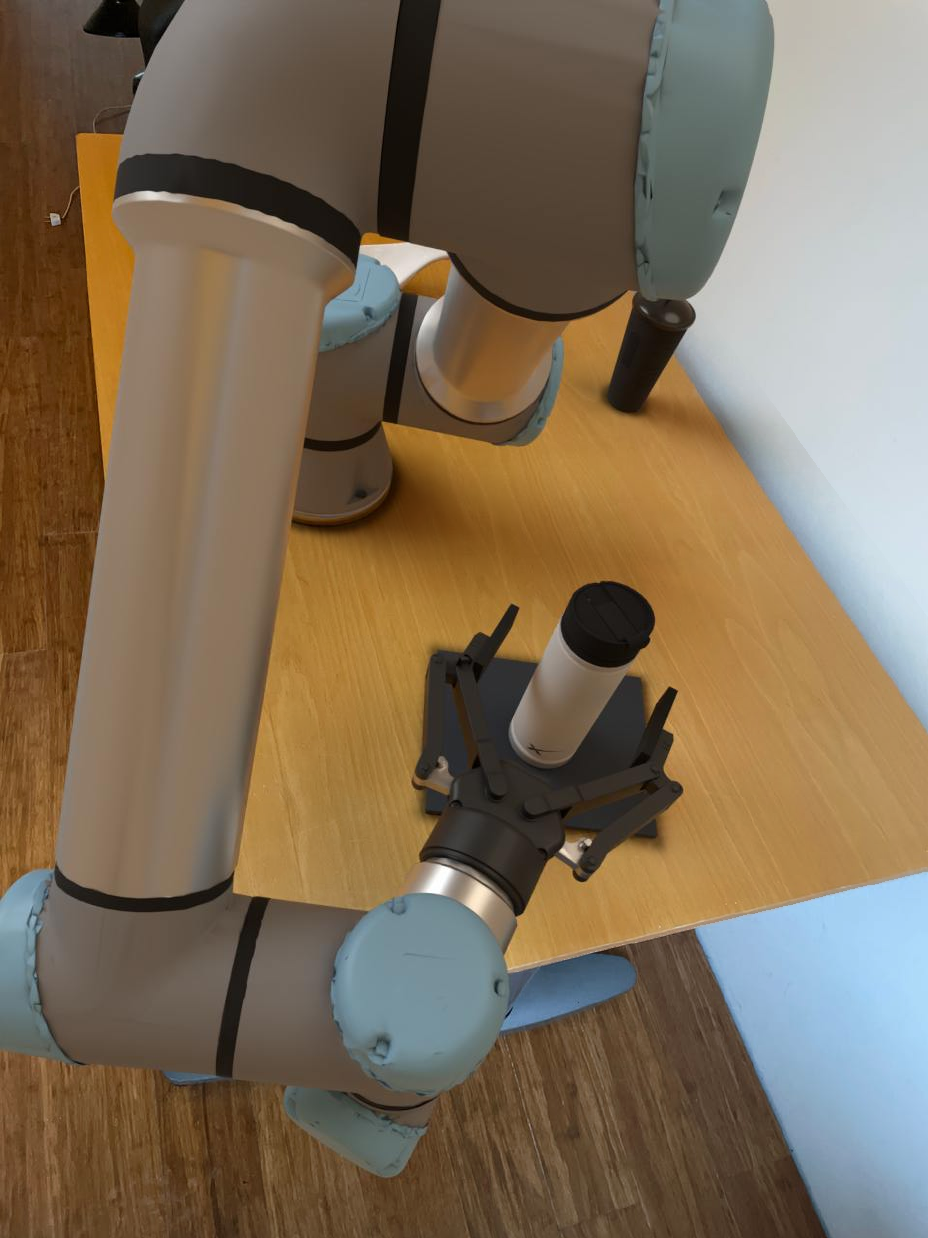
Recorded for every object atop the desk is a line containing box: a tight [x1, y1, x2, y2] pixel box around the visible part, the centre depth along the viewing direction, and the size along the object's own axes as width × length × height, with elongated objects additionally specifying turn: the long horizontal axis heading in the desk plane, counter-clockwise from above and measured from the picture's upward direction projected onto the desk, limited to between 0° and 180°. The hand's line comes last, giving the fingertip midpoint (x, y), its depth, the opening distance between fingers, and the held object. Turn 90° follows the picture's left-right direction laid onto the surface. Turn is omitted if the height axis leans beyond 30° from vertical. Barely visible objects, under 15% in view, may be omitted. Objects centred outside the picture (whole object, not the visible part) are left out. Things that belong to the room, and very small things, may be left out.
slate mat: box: [424, 649, 658, 839], centre depth 73 cm, size 20×16×1 cm
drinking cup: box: [606, 291, 697, 413], centre depth 97 cm, size 8×8×20 cm
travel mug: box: [509, 580, 656, 769], centre depth 65 cm, size 6×7×20 cm
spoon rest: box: [359, 242, 450, 290], centre depth 106 cm, size 24×12×7 cm, turn 110°
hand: (588, 655), depth 64 cm, fingers open, 13 cm apart
